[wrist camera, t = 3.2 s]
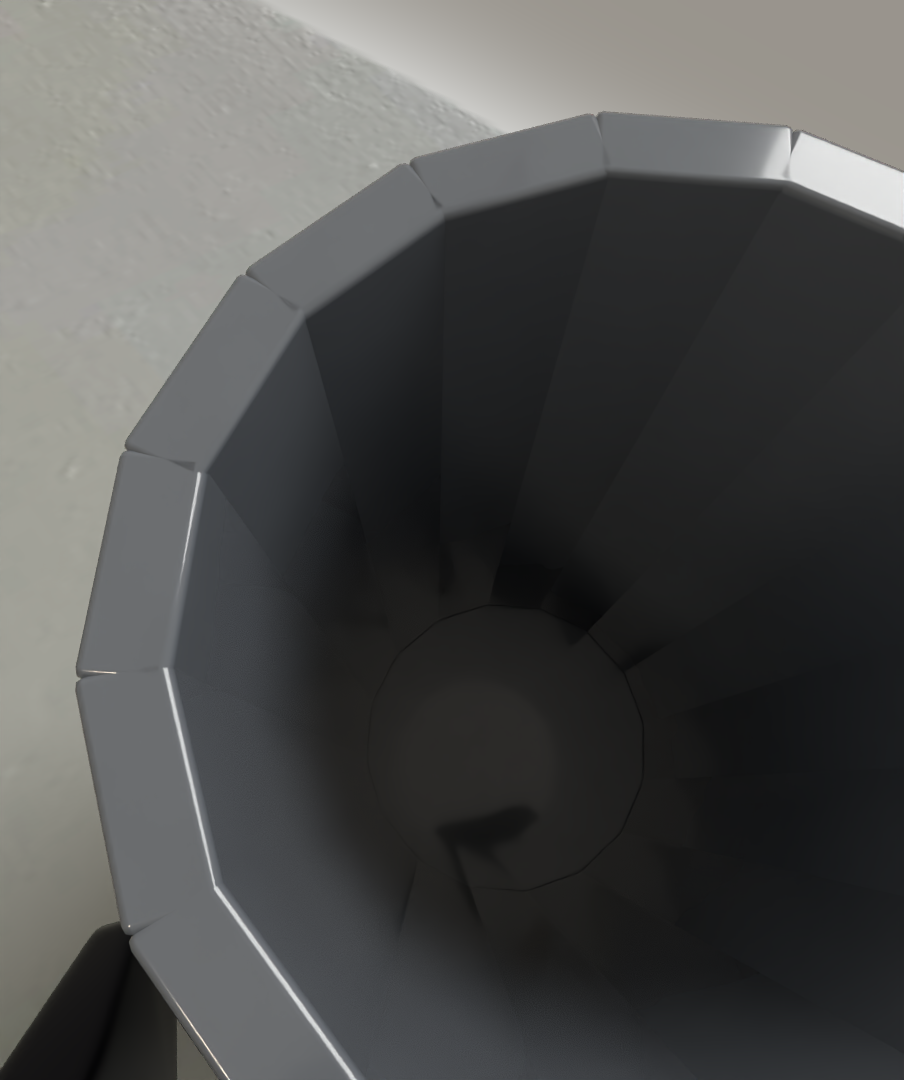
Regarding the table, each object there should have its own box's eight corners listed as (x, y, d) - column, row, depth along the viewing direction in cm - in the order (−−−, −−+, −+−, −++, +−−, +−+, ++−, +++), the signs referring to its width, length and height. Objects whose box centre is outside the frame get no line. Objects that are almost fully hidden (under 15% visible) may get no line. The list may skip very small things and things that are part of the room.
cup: (707, 673, 17) (1413, 372, 5) (582, 976, 16) (1176, 1732, 3) (435, 540, 18) (437, -23, 6) (288, 815, 16) (-194, 898, 4)
